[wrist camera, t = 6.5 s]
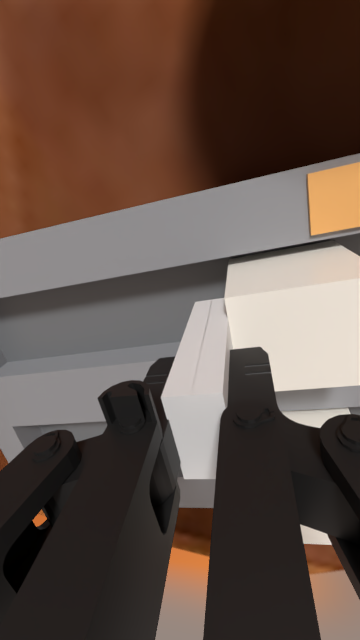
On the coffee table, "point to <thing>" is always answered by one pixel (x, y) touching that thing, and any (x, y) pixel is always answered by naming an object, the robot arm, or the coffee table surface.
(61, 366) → the switch bank
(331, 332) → the tab
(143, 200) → the coffee table surface
